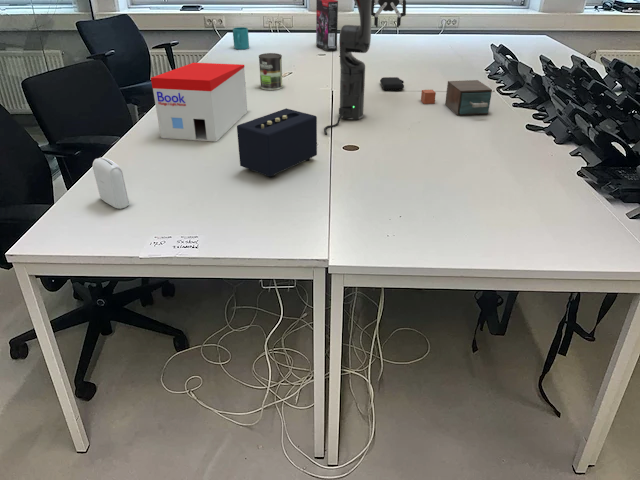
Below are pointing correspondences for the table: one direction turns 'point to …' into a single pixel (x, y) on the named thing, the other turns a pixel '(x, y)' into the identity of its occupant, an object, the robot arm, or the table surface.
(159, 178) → the table surface
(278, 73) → the coffee can
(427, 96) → the block
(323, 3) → the graphics card box
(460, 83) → the box
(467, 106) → the drawer
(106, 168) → the photo printer
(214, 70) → the bookstore
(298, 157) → the speaker
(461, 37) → the table surface
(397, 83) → the carrying case
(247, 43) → the cup
